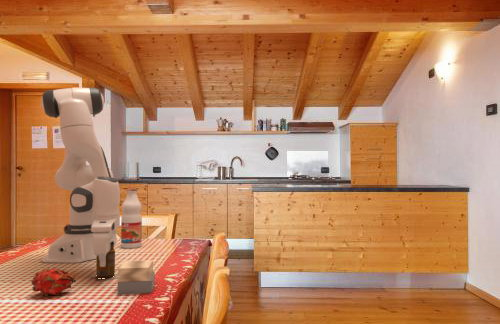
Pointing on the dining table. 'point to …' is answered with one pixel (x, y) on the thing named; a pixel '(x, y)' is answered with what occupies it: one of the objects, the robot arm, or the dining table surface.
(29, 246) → the dining table surface
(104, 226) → the robot arm
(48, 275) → the dragon fruit
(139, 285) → the tower block lower
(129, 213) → the fruit juice
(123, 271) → the tower block upper
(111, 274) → the condiment
